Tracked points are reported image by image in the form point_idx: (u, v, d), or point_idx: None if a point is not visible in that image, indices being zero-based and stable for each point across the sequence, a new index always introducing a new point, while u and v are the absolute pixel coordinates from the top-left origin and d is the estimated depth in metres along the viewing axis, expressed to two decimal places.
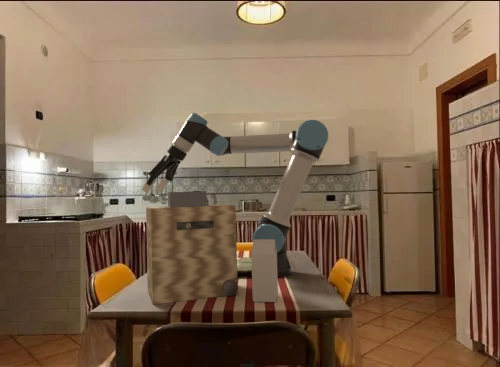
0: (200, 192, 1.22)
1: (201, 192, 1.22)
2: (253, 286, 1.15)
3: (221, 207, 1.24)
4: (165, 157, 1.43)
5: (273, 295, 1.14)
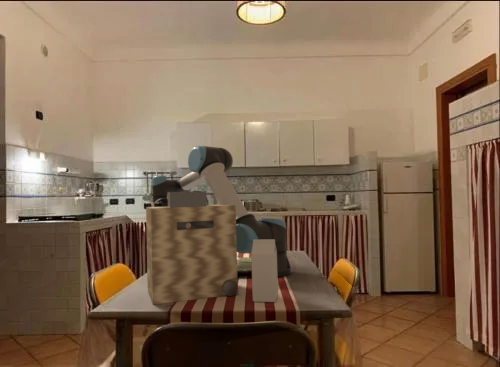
0: (200, 192, 1.22)
1: (201, 192, 1.22)
2: (253, 286, 1.15)
3: (221, 207, 1.24)
4: None
5: (273, 295, 1.14)
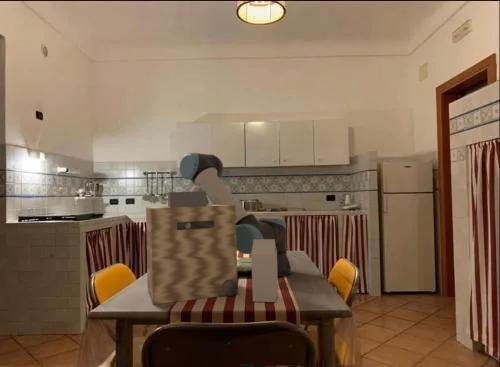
0: (200, 192, 1.22)
1: (201, 192, 1.22)
2: (253, 286, 1.15)
3: (221, 207, 1.24)
4: None
5: (273, 295, 1.14)
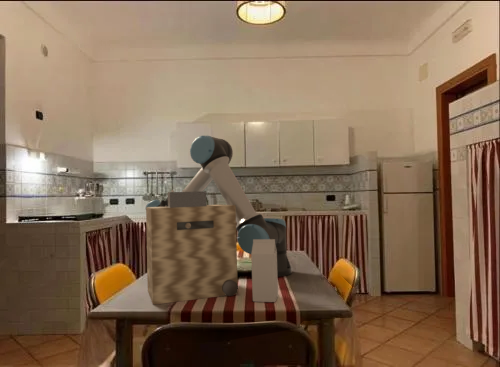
0: (200, 192, 1.22)
1: (201, 192, 1.22)
2: (253, 286, 1.15)
3: (221, 207, 1.24)
4: None
5: (273, 295, 1.14)
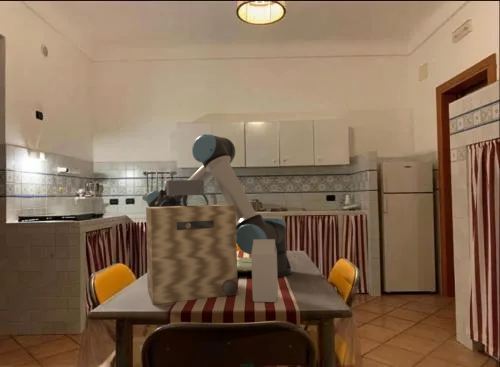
0: (198, 181, 1.26)
1: (199, 181, 1.26)
2: (253, 286, 1.15)
3: (221, 207, 1.24)
4: (155, 204, 1.52)
5: (273, 295, 1.14)
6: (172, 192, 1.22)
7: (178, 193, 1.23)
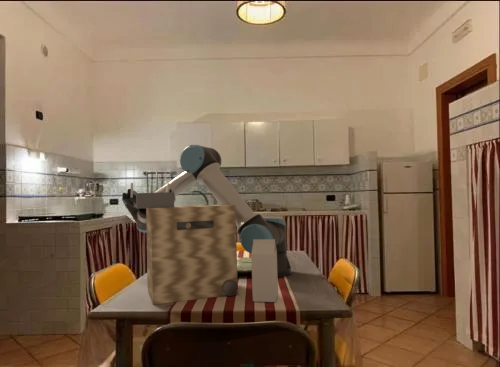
0: (168, 193, 1.23)
1: (169, 193, 1.23)
2: (253, 286, 1.15)
3: (221, 207, 1.24)
4: None
5: (273, 295, 1.14)
6: (141, 205, 1.20)
7: (147, 206, 1.20)
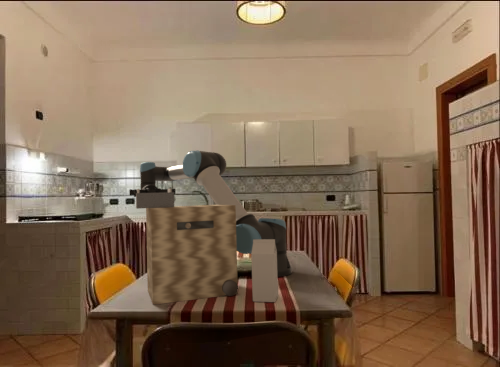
0: (168, 193, 1.23)
1: (169, 193, 1.23)
2: (253, 286, 1.15)
3: (221, 207, 1.24)
4: None
5: (273, 295, 1.14)
6: (141, 205, 1.20)
7: (147, 206, 1.20)
